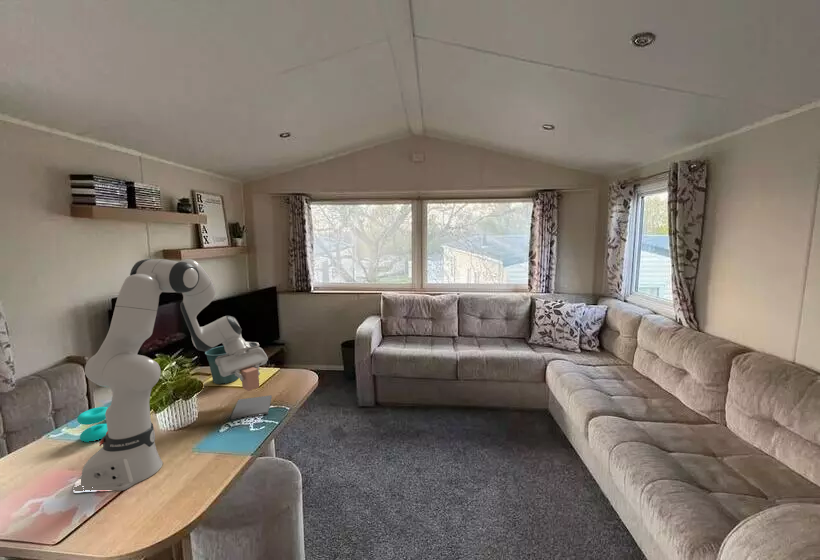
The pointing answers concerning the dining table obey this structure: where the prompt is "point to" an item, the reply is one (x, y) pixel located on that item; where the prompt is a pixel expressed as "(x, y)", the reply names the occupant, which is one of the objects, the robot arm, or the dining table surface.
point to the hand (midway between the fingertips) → (250, 377)
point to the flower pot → (216, 376)
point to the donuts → (92, 418)
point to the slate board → (252, 406)
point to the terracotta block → (250, 378)
